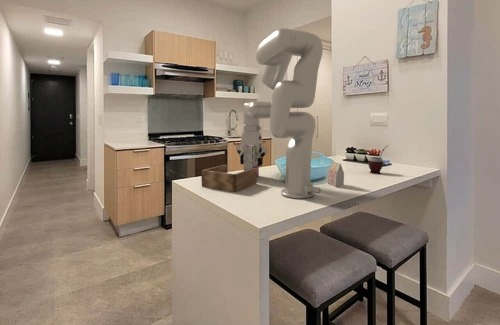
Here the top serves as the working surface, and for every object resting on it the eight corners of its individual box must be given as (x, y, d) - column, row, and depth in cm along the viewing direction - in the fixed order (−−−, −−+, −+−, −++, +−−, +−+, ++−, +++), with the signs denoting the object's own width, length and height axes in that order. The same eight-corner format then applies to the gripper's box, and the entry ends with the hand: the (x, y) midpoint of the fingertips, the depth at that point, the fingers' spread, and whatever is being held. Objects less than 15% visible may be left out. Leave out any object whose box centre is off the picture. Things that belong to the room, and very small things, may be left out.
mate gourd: (364, 172, 162) (366, 144, 160) (375, 171, 166) (377, 143, 163) (376, 175, 156) (378, 145, 153) (387, 173, 159) (389, 144, 156)
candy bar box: (249, 175, 154) (249, 142, 152) (259, 175, 153) (259, 143, 150) (242, 179, 144) (242, 145, 141) (253, 180, 142) (253, 145, 140)
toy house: (335, 183, 138) (336, 161, 136) (343, 186, 131) (344, 163, 130) (327, 183, 137) (328, 161, 135) (335, 187, 130) (336, 164, 129)
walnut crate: (256, 183, 136) (256, 168, 135) (235, 192, 122) (235, 174, 121) (225, 179, 145) (224, 164, 144) (201, 186, 131) (201, 170, 130)
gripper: (271, 129, 143) (270, 165, 146) (240, 128, 152) (240, 162, 155) (263, 130, 137) (263, 167, 140) (231, 128, 146) (232, 164, 149)
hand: (251, 164), depth 148 cm, fingers open, 9 cm apart
